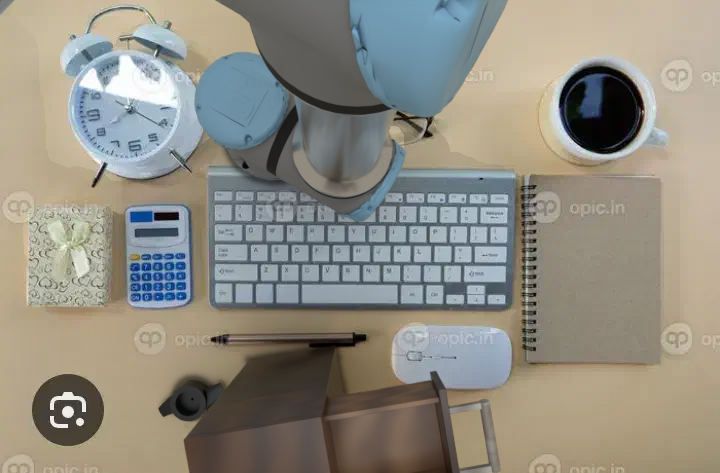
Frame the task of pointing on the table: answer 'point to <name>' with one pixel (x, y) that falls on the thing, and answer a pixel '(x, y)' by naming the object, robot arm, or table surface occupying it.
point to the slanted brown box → (269, 417)
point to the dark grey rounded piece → (191, 400)
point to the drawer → (401, 431)
